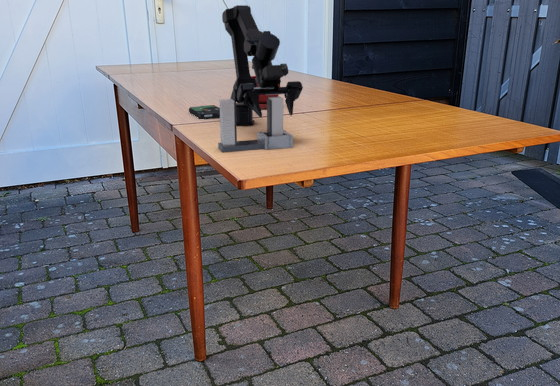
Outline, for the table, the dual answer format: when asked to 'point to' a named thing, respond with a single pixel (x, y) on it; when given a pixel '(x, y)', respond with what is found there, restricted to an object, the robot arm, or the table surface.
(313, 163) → the table surface
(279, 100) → the tall grey pillar
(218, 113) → the disk drive
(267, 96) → the plant pot
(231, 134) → the grey l-shaped stand
